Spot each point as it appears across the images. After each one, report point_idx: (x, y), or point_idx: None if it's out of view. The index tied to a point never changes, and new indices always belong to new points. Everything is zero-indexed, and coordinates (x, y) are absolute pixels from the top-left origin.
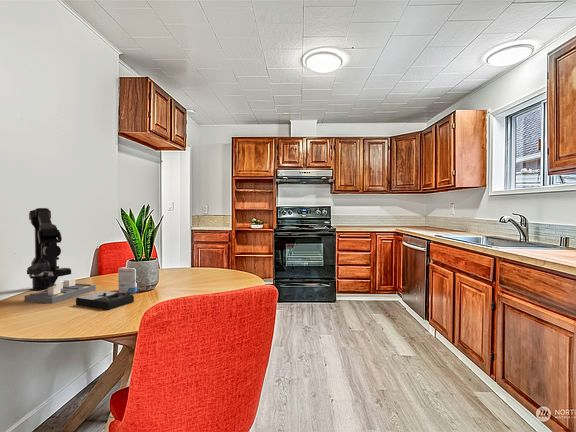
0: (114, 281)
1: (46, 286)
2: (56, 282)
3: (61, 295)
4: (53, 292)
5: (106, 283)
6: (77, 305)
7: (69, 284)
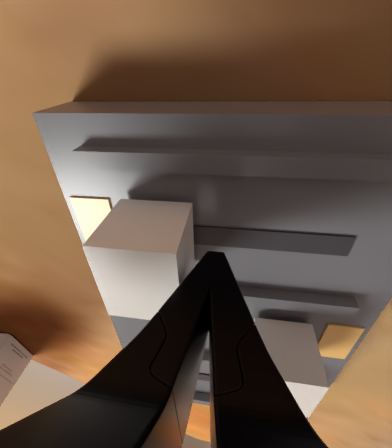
0: (202, 432)
1: (230, 285)
2: (301, 406)
3: (75, 215)
4: (110, 212)
5: (207, 420)
6: None
7: None
